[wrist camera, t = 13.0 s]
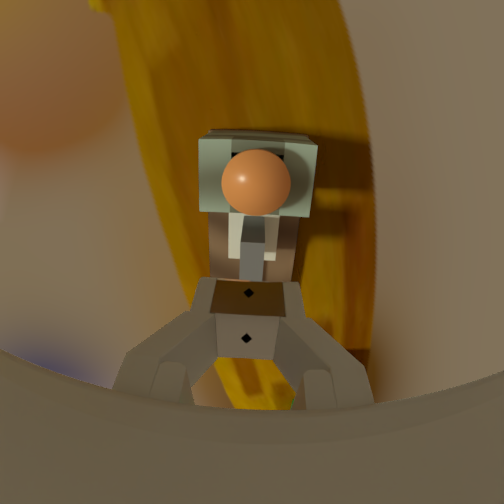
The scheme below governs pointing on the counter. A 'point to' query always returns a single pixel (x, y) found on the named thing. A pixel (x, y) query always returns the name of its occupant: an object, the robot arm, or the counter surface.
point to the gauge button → (256, 182)
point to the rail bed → (296, 205)
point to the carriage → (252, 242)
